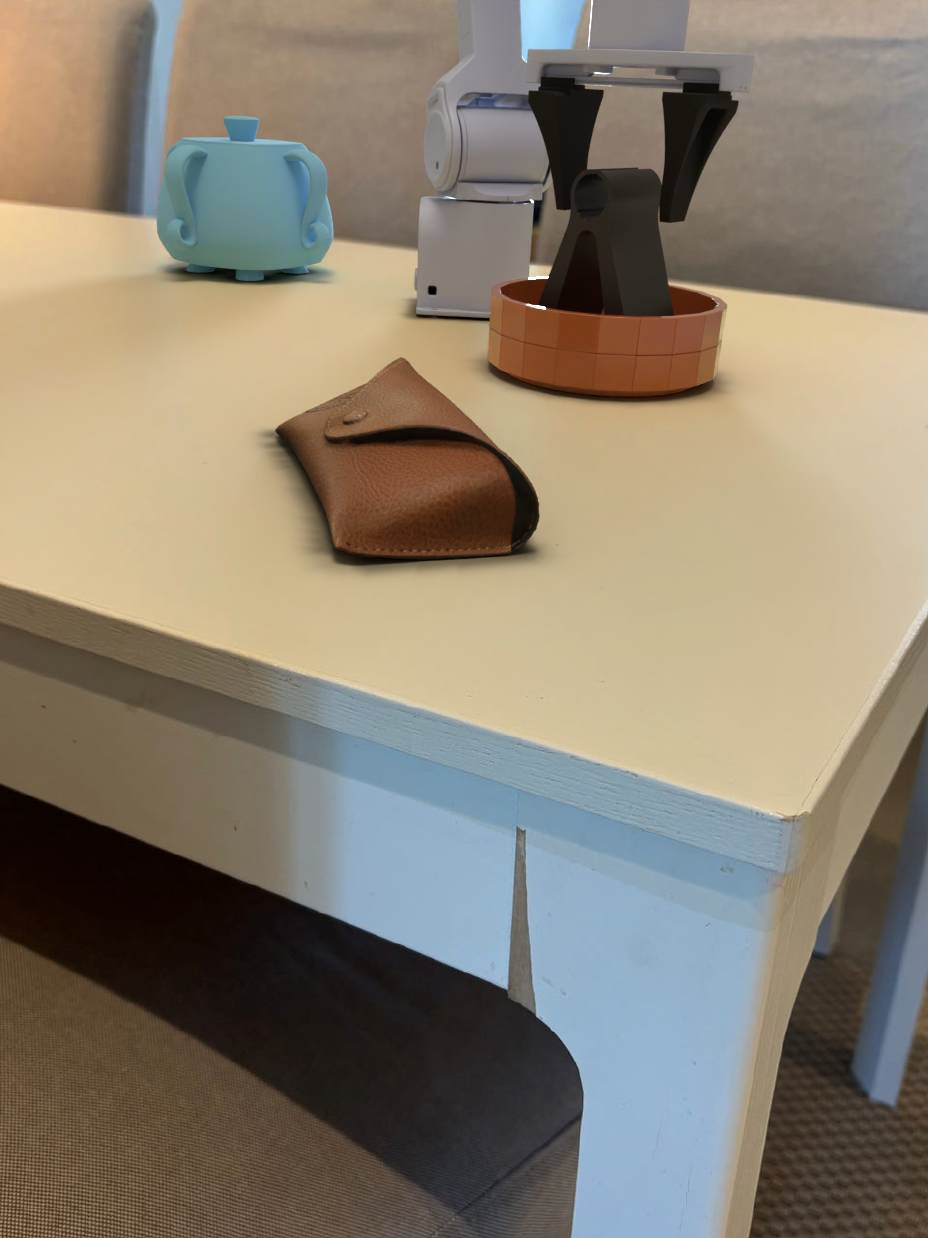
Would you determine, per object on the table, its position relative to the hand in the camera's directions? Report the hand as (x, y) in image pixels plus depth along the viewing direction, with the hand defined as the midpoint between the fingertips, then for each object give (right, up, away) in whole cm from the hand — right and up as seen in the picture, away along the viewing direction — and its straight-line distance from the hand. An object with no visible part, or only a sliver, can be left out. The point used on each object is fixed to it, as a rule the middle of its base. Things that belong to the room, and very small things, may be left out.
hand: (618, 215), depth 68 cm
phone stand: (-1, -9, +4) cm, 10 cm away
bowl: (-1, -9, +4) cm, 10 cm away
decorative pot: (-31, +8, +35) cm, 48 cm away
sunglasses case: (-13, -20, -18) cm, 30 cm away
